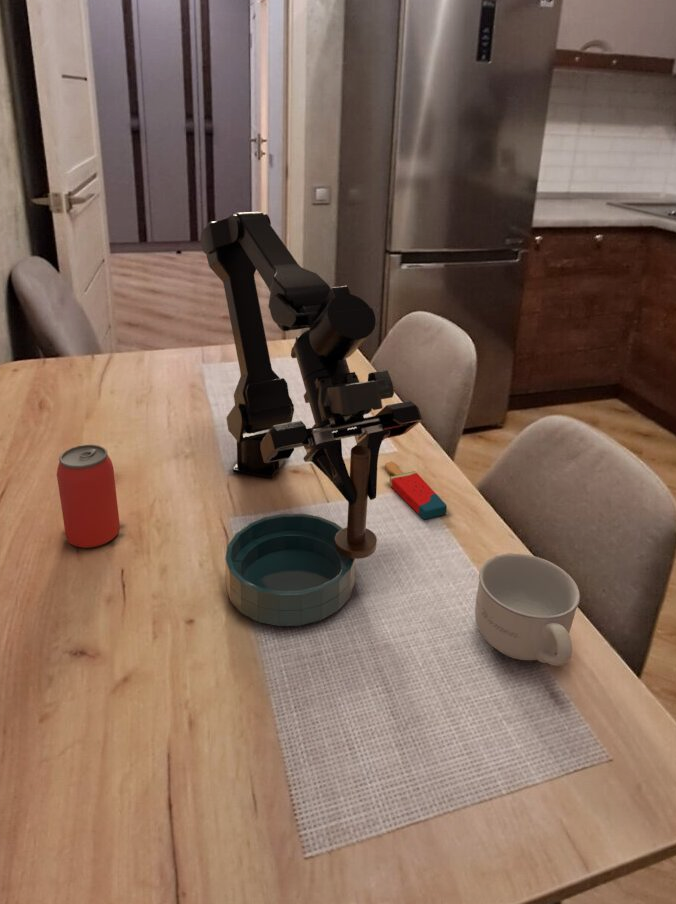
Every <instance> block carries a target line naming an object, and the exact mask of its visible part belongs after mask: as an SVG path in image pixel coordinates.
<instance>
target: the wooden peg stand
mask: <svg viewBox="0 0 676 904" xmlns="http://www.w3.org/2000/svg"><path fill="white" fill-rule="evenodd" d="M354 446H355V445H354ZM354 446H353V447H351V448H350V459H349V477H350V480H351V483H352V485H353V488H354V492H355V497H356V503H355V504H354V505H350V504H349V502H348V501H347V523H346V527H344V528H343V529H341V530H340V531H339V532H338V533H337V534H336V536H335V549H336V551H337V552H338V553H339V554H341V555H342V556H344V557H347V558H351V559H356V560H360V559H361V560H362V559H366V558H368V557H370V556H372V555H373V554H374V553H375V551H376V550H377V542H378V538H377V535H376V534H375V532H373V531H372V530H371V529H369V528H367V515H368V498H369V497H368V484H369V468H370V449H369V448H368V447H365V446H355V447H354Z"/></svg>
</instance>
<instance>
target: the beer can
mask: <svg viewBox="0 0 676 904" xmlns="http://www.w3.org/2000/svg"><path fill="white" fill-rule="evenodd" d="M58 461H59V462H58V465H57V470H56V480H57V487H58V493H59V500H60V507H61V512H62V513H61V514H62V521H63V526H64V533H65V539H66V540H67V541H68V543H69V544H71V545H73V546H75V547H77V548H83V549H87V548H89V549H90V548H95V547H100V546H103V545H105V544H108V543H109V542H110V541H112V540H113V539H115V537H116V536H117V535H118V534H119V531H120V529H121V524H120V515H119V506H118V505H119V504H118V496H117V489H116V488H117V487H116V478H115V469H114V465H113V462H112V459H111V458H110V456H109V455H108V450H107V449H106V448H104V447H103V446H100V445H96V444H83V445H76V446H73V447H70V448H68V449H67V450H65V451H64V452H62V453H61V454H60V456H59V458H58Z"/></svg>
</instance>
